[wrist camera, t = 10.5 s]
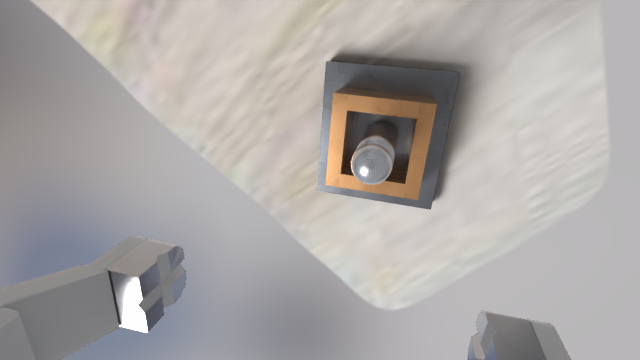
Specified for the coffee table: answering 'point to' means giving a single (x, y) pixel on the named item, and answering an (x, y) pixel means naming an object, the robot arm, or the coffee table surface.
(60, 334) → the robot arm
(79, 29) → the coffee table surface
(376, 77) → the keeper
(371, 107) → the wooden square frame
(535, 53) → the coffee table surface
